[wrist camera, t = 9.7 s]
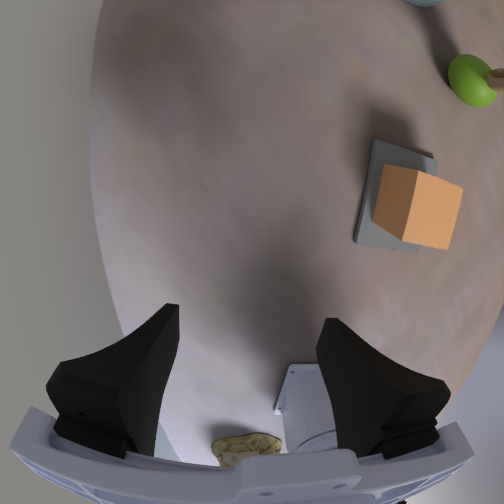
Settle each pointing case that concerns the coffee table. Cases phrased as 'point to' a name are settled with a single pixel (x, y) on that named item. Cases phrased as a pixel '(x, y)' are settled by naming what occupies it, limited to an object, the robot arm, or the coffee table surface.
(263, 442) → the ceramic model
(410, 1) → the teal cup
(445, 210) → the cube
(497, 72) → the snail figurine
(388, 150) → the mat
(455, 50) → the coffee table surface
